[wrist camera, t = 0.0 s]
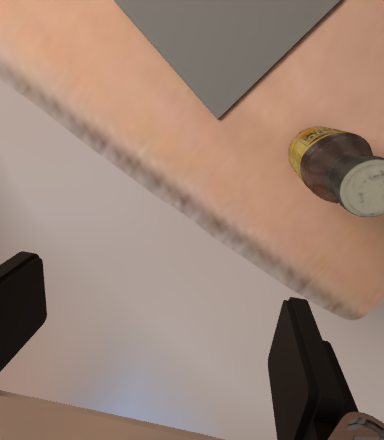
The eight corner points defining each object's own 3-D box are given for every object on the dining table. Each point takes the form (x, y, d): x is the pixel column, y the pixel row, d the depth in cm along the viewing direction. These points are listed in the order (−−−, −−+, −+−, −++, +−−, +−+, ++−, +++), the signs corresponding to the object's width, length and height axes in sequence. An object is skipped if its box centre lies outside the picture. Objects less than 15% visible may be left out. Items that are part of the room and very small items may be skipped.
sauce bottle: (343, 129, 37) (454, 148, 18) (329, 178, 39) (415, 240, 20) (289, 122, 37) (344, 134, 19) (278, 171, 39) (317, 225, 21)
